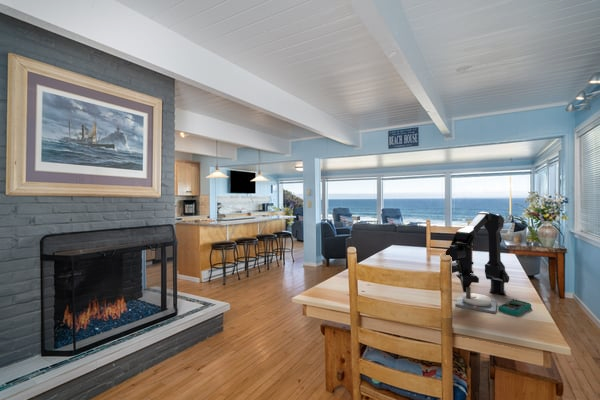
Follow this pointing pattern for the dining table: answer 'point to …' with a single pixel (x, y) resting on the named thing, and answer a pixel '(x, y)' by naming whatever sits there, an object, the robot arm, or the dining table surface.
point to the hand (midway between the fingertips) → (464, 292)
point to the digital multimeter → (514, 307)
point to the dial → (476, 298)
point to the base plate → (489, 308)
